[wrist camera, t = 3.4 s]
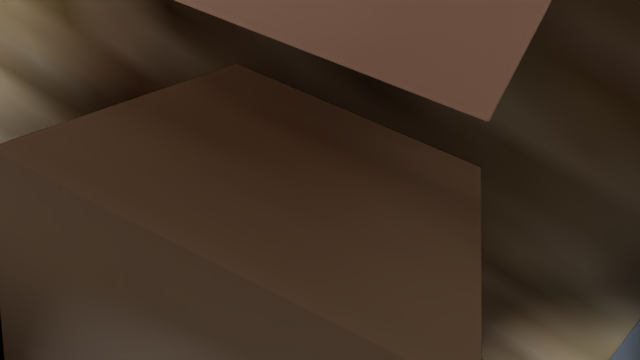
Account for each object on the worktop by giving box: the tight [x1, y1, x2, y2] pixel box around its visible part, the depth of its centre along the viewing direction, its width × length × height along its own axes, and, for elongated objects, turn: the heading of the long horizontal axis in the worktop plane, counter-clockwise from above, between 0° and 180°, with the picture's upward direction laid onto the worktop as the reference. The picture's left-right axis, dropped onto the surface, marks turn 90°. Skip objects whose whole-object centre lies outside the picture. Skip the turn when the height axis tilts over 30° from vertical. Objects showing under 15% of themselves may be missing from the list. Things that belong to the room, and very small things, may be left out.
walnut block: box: [0, 64, 482, 360], centre depth 8 cm, size 8×5×5 cm, turn 162°
